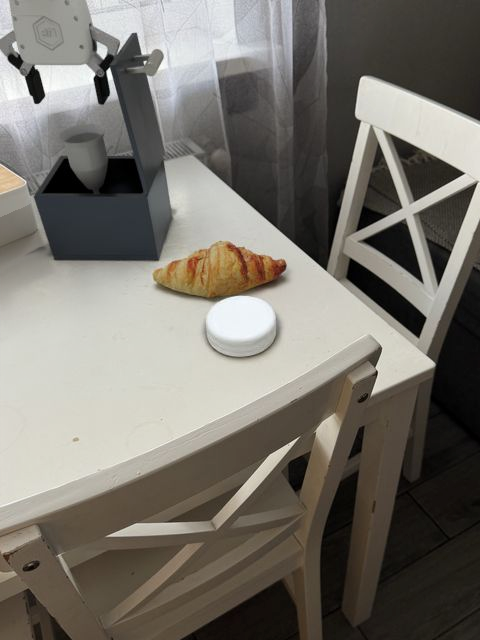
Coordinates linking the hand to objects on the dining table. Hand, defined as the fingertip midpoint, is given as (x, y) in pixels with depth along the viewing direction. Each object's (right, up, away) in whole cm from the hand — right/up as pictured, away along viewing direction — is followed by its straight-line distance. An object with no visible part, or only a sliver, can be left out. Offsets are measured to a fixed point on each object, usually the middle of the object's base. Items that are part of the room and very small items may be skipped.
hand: (71, 101), depth 89 cm
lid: (+10, -2, +1) cm, 10 cm away
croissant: (+22, -26, +6) cm, 35 cm away
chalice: (+1, -17, +16) cm, 23 cm away
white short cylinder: (+26, -35, -3) cm, 44 cm away
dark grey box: (+3, -17, +16) cm, 24 cm away
